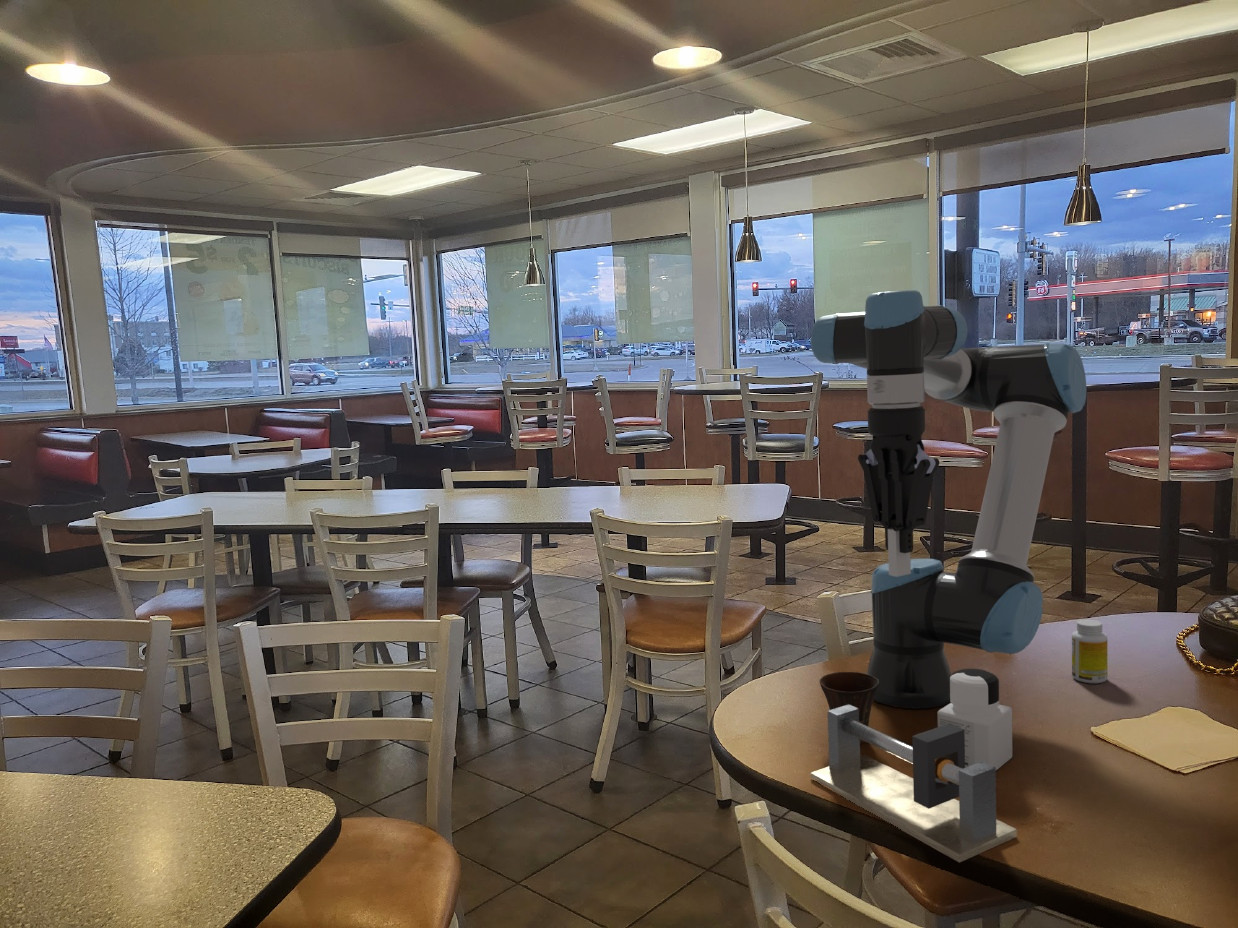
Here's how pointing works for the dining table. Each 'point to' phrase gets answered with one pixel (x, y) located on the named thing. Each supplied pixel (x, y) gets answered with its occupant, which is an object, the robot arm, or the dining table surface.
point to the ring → (925, 751)
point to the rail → (892, 793)
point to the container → (979, 717)
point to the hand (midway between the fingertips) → (899, 574)
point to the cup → (850, 692)
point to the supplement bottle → (1089, 652)
